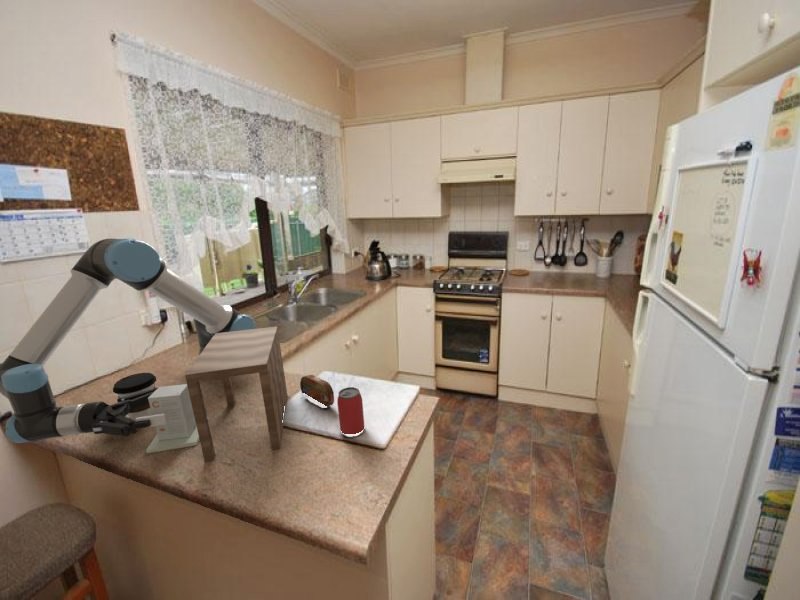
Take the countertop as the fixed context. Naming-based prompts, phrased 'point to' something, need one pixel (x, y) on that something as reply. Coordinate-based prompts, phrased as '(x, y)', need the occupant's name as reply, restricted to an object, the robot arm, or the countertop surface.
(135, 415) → the coffee cup
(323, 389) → the brown rounded flat block
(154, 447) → the pad
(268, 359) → the wooden step stool
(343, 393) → the beer can
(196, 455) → the countertop surface
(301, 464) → the countertop surface
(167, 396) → the small box
